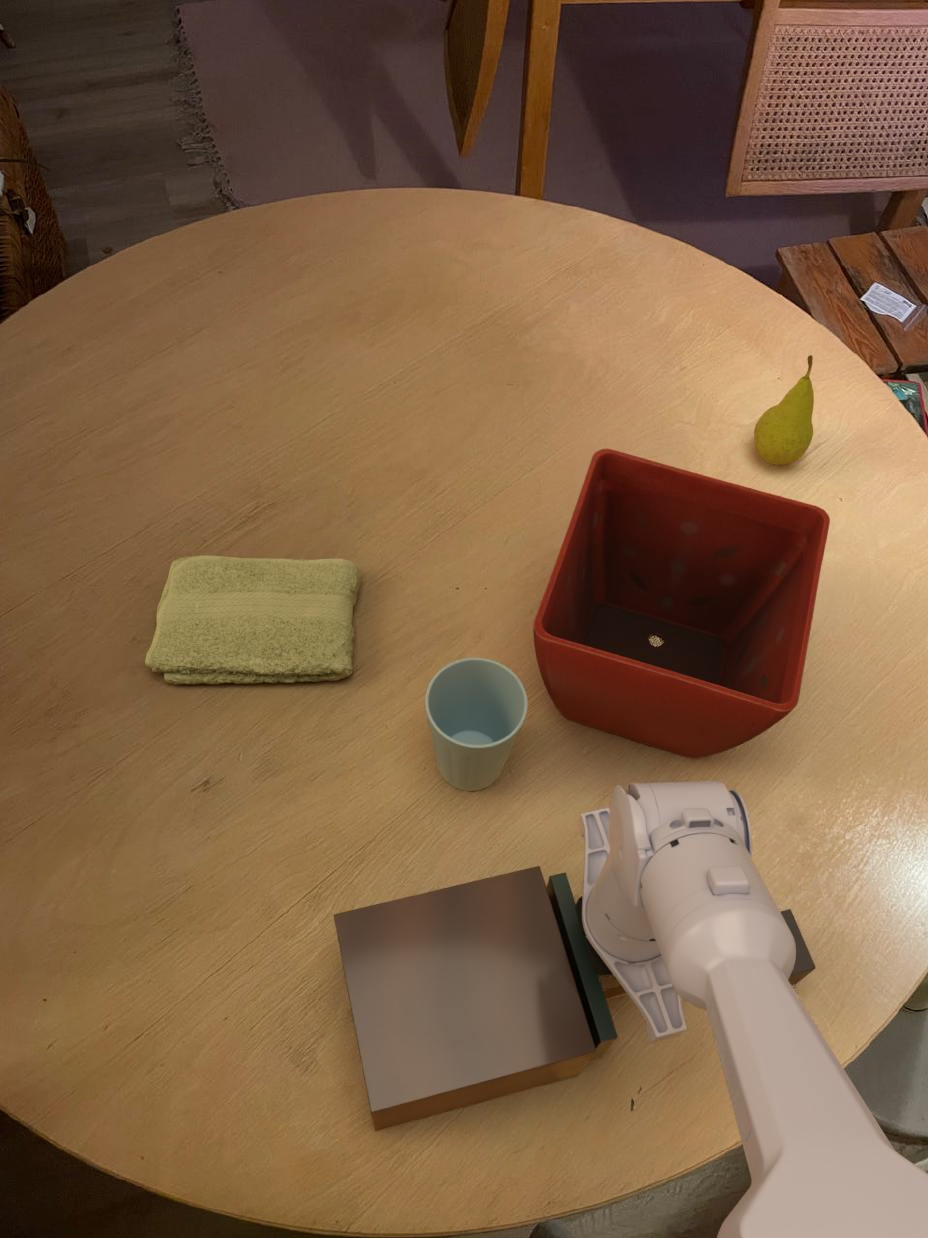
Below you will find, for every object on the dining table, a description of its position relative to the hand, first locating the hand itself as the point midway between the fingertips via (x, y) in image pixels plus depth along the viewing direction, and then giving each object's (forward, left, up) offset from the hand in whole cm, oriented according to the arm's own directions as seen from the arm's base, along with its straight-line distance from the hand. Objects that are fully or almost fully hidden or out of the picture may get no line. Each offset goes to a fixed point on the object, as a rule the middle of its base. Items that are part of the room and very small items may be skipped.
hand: (607, 954), depth 73 cm
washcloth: (+36, +20, -5) cm, 41 cm away
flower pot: (+23, -12, -5) cm, 26 cm away
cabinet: (0, +11, -5) cm, 12 cm away
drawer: (0, +6, -4) cm, 8 cm away
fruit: (+45, -34, -5) cm, 57 cm away
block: (-2, -12, -5) cm, 13 cm away
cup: (+19, +5, -5) cm, 20 cm away
